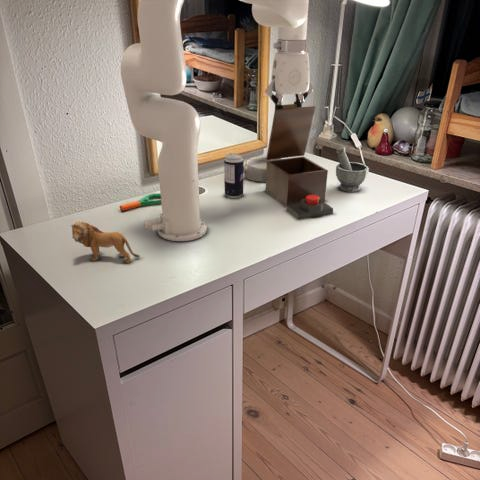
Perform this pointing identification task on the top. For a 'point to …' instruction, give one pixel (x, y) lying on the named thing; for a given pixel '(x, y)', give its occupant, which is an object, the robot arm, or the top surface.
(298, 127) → the wooden box lid
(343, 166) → the mortar and pestle
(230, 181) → the beverage can
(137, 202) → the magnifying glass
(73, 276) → the top surface
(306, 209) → the control block
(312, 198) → the button
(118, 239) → the lion figurine
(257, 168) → the dish
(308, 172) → the brown open box
